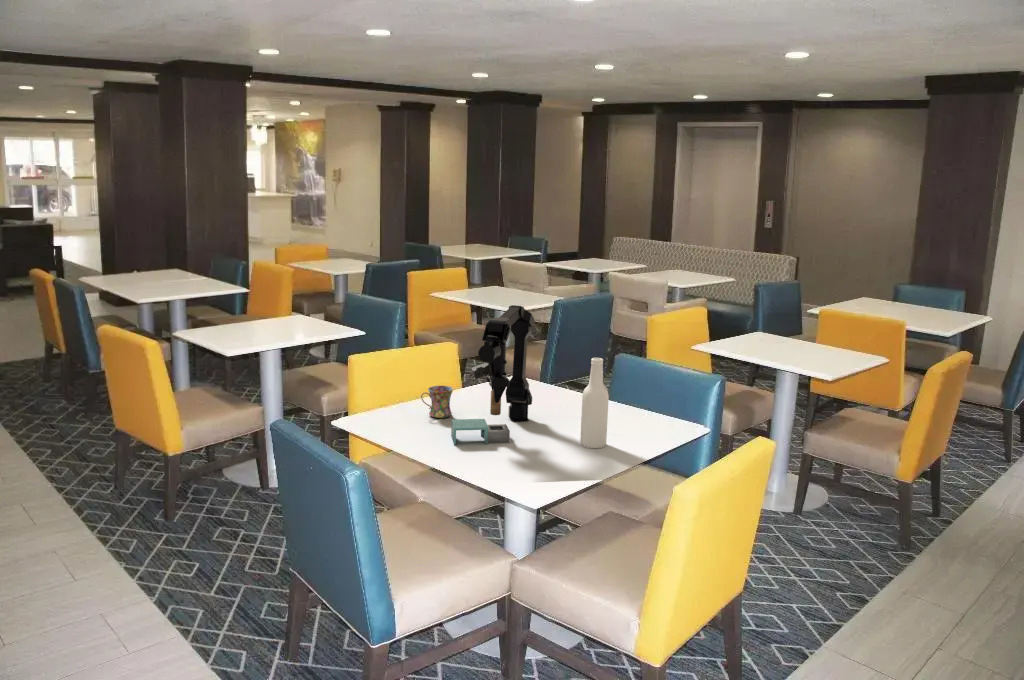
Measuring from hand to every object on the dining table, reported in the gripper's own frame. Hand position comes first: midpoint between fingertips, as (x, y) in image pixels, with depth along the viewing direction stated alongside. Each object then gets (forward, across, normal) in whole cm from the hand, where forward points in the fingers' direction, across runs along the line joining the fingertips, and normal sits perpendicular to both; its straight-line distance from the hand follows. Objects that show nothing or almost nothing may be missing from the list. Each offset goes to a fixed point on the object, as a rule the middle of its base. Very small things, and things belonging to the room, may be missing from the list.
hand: (496, 401), depth 284 cm
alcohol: (+13, +10, +32) cm, 36 cm away
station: (+13, +2, -6) cm, 14 cm away
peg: (+4, 0, 0) cm, 5 cm away
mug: (+13, -28, -18) cm, 35 cm away
